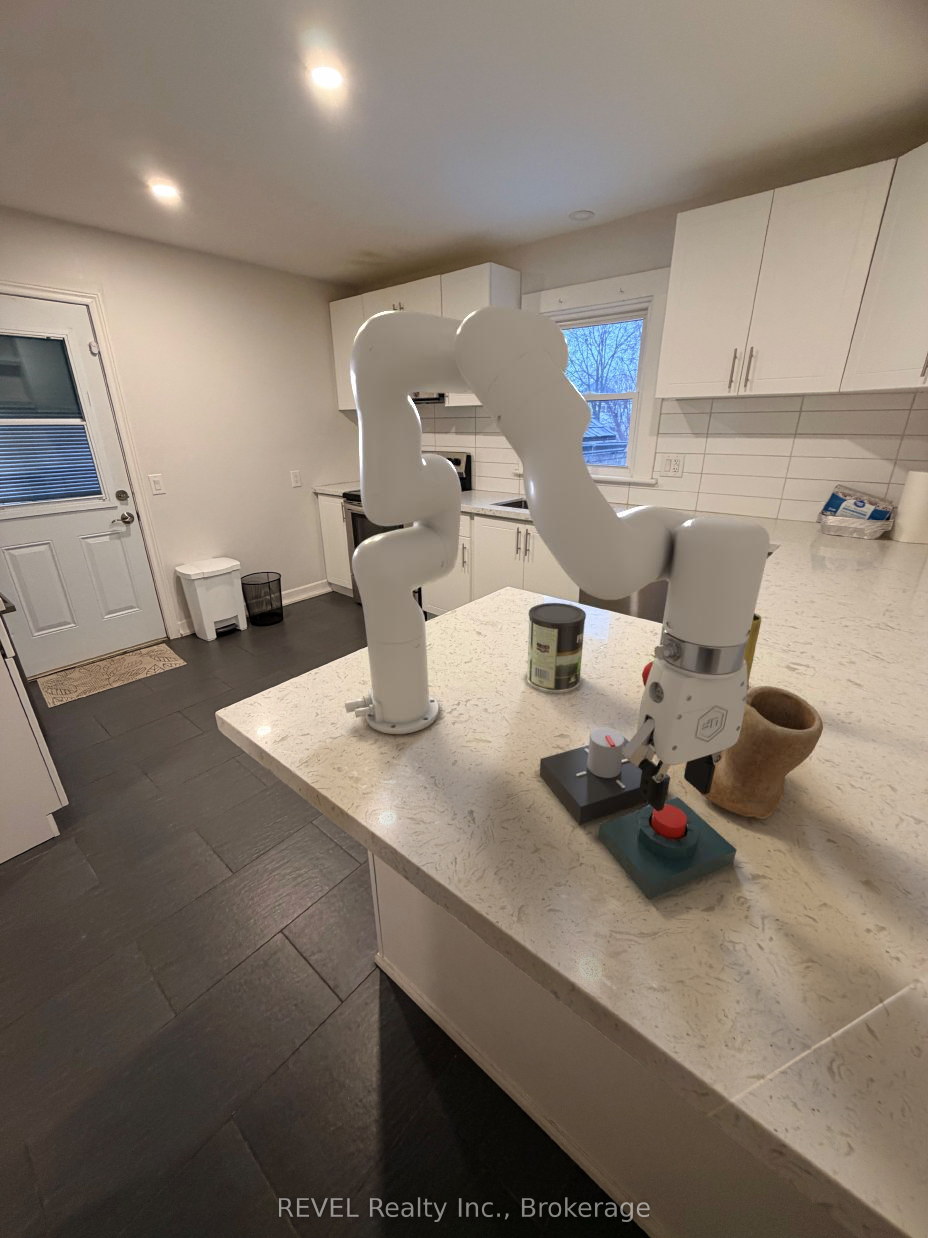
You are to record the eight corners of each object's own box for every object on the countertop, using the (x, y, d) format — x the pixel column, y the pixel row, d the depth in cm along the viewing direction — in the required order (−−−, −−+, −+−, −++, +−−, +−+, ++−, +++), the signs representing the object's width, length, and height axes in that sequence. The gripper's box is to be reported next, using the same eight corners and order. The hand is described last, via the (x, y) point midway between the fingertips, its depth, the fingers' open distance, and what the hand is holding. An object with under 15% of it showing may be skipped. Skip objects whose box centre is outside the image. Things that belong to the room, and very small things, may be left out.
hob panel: (579, 825, 62) (580, 806, 61) (539, 775, 70) (540, 757, 69) (667, 795, 67) (670, 776, 65) (620, 751, 75) (622, 734, 74)
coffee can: (579, 669, 99) (585, 603, 94) (580, 696, 90) (586, 625, 85) (528, 665, 101) (530, 600, 96) (523, 690, 92) (526, 621, 87)
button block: (648, 900, 52) (653, 872, 51) (597, 837, 60) (600, 812, 59) (733, 863, 56) (740, 837, 55) (675, 809, 64) (680, 785, 63)
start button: (666, 843, 55) (668, 831, 54) (644, 820, 58) (646, 809, 57) (691, 833, 56) (694, 822, 55) (668, 811, 59) (670, 800, 58)
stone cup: (787, 844, 59) (820, 739, 53) (684, 798, 66) (703, 702, 60) (806, 776, 69) (836, 683, 64) (716, 743, 76) (735, 657, 71)
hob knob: (582, 758, 69) (585, 726, 67) (613, 755, 70) (617, 724, 68) (593, 779, 65) (596, 746, 63) (625, 777, 66) (630, 744, 63)
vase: (747, 681, 94) (763, 611, 88) (749, 697, 89) (766, 624, 83) (711, 675, 96) (725, 607, 91) (711, 690, 91) (725, 619, 85)
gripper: (657, 683, 42) (633, 842, 49) (800, 648, 48) (759, 795, 55) (603, 647, 48) (588, 793, 55) (734, 620, 54) (706, 755, 61)
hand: (674, 792), depth 55 cm, fingers open, 5 cm apart
